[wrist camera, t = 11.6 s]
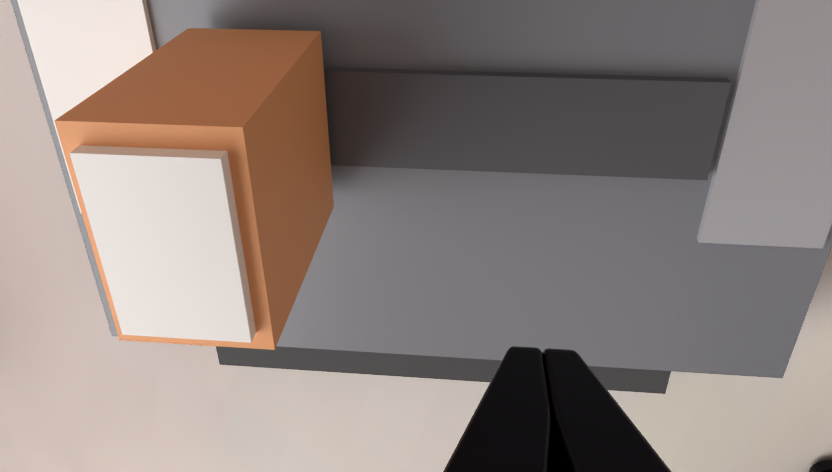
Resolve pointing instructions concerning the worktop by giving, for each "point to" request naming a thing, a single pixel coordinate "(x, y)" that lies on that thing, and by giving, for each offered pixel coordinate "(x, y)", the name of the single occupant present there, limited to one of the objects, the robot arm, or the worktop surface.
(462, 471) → the robot arm
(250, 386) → the worktop surface
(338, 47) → the panel
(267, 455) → the worktop surface
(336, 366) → the grey slab
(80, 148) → the orange rectangular block
